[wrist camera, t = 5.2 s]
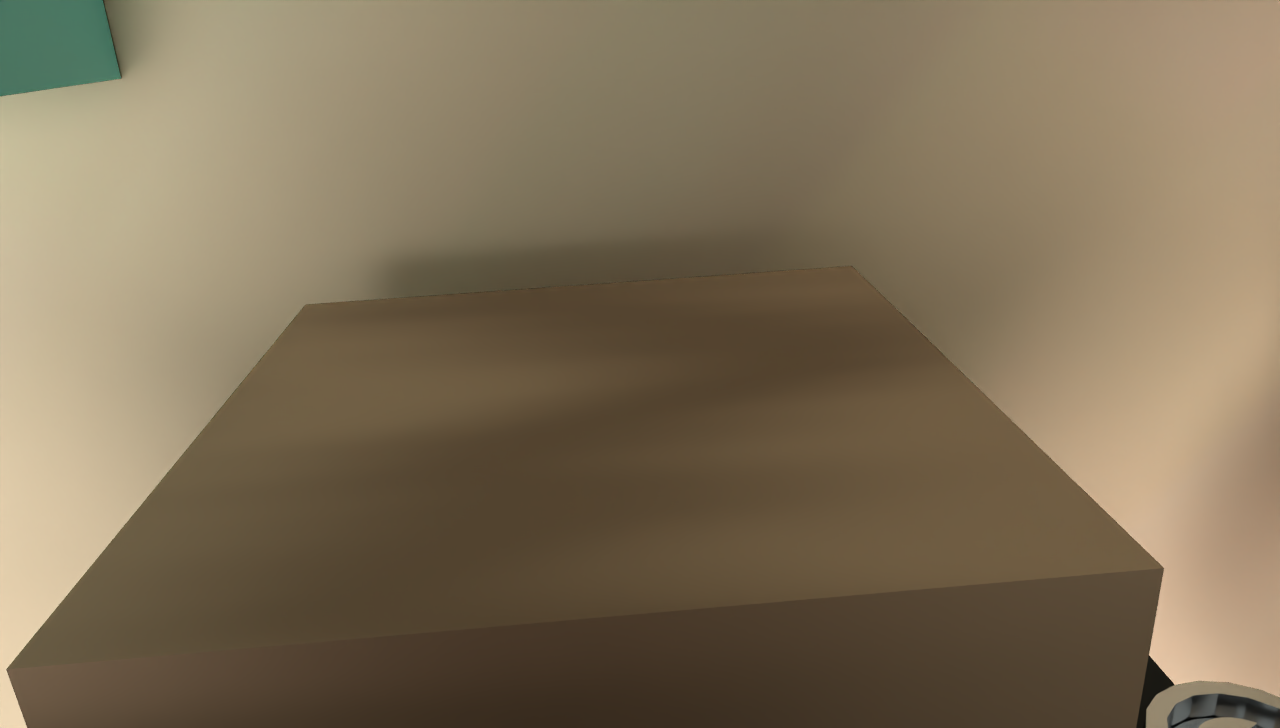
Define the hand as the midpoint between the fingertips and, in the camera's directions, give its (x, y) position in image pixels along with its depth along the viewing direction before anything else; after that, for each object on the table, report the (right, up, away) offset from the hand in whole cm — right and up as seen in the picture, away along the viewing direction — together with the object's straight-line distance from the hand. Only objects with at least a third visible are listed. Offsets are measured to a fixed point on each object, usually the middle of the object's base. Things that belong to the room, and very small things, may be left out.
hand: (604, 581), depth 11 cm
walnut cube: (0, 0, +1) cm, 1 cm away
